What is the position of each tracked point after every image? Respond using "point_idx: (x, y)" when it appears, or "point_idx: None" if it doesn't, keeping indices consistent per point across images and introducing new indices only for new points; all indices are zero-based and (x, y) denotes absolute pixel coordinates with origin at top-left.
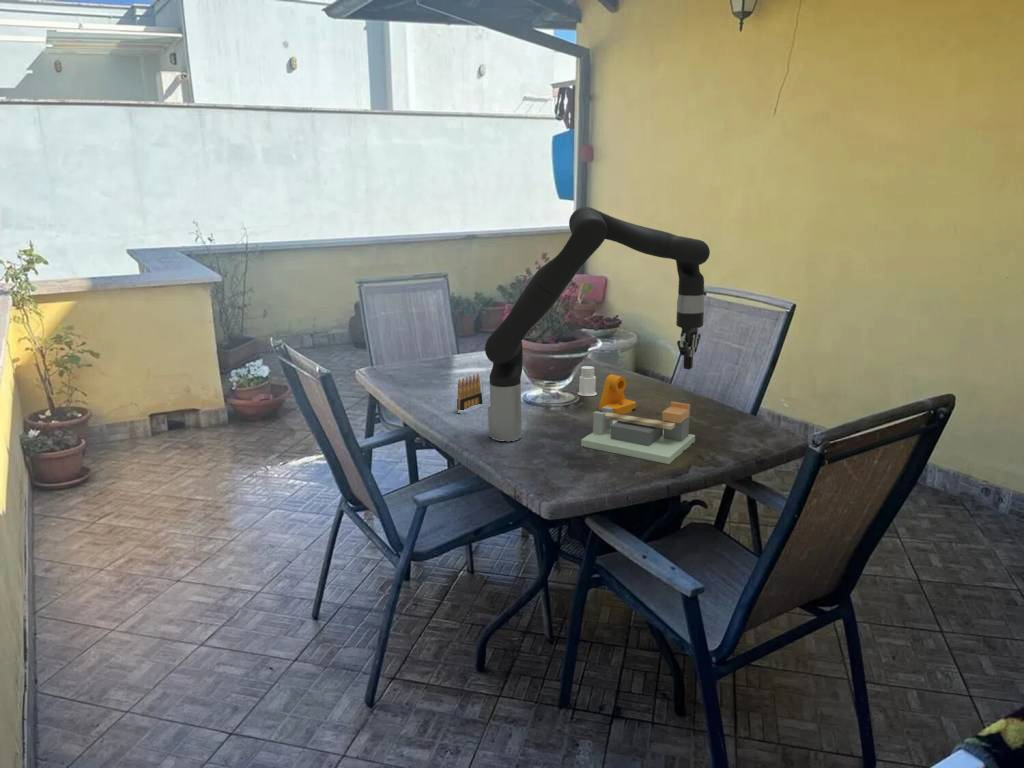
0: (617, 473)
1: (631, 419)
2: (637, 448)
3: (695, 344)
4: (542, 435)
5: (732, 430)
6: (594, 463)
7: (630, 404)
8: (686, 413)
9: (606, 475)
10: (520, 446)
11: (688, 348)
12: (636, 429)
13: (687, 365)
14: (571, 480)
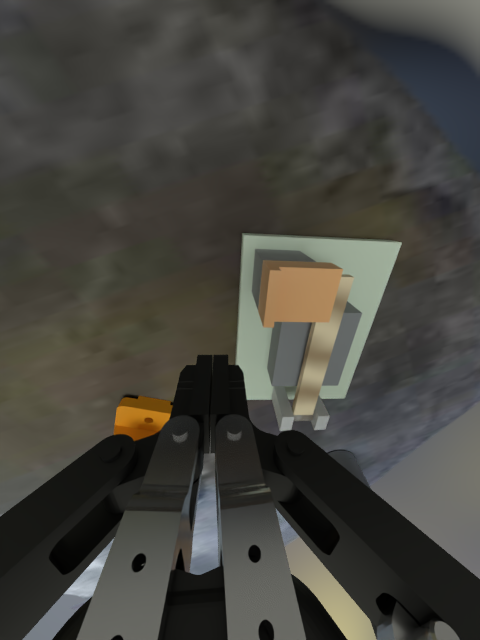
0: (445, 305)
1: (324, 367)
2: (364, 314)
3: (163, 551)
4: (313, 439)
5: (106, 162)
6: (406, 349)
7: (139, 408)
8: (292, 265)
9: (455, 316)
10: (361, 440)
11: (354, 524)
12: (347, 342)
13: (243, 381)
14: (476, 348)
